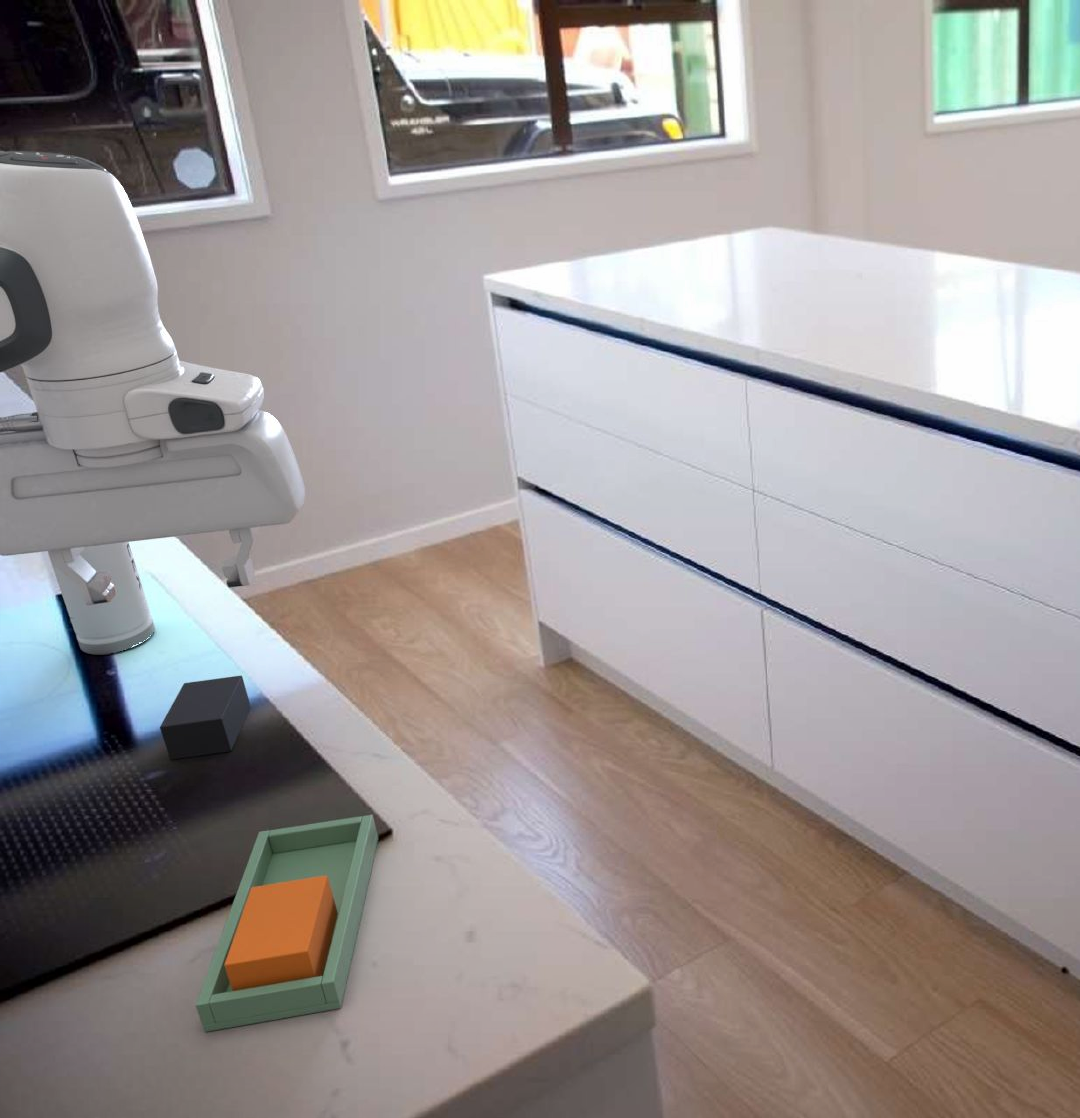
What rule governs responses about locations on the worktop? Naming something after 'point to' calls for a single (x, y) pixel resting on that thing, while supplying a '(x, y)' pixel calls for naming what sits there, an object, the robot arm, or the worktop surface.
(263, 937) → the orange block
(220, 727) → the dark grey rectangular block
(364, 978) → the worktop surface
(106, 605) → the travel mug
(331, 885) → the tray
